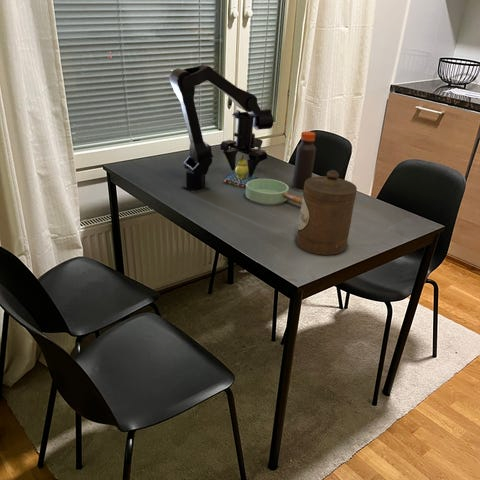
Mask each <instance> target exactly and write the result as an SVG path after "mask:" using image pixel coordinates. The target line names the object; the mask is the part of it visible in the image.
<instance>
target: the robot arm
mask: <svg viewBox="0 0 480 480" xmlns="http://www.w3.org/2000/svg"><path fill="white" fill-rule="evenodd" d="M205 81H206V82H208V83H209V84H210V85H212V86H214V87H215V88H216V89H218V90H219V91H221V92H222V93H223V94H225V95H226V96H227V97H229V99H230V100H231V101H232V103H234V105H235V106H236V107H237V108H239V109H241V110H243V111H240V110H239V109H236V110H235V111H234V112H233V113H231V117H232V118H234V119H236V132H233V136H234V137H235V140H233V139H228V140H223V141H221V142H220V144H219V150H221V151H222V153H223V154H224V156H225V159H226V160H227V162H228V165H229V167H230V169H231V171H232V172H233V171H234V172H235V169H236V159H237V154H238V152H239V153H242V154H245V155H248V159H247V166H248V171H249V172H248V175H249V177H252V176H254V173H255V171H256V168H257V166H258V165H259V163H260V162H263V161H265V160H267V159H268V152H267V151H266V150H264V149H262V145H263V142H264V140H262V139H260V138H256V134H255V133H254V132H253V130H256V131H260V130H270V129H272V128H273V126H274V124H275V123H274V122H275V121H274V117H273V114H272V109H271V108H261V107H260V106H259V104H258V97H257V96H256V95H255V94H253V93H251V92H248V91H247V90H244V89H242V88H240V87H238V86H237V85H235V84H233V83H232V82H231V81H229V80H228V79H226V78H225V77H224V76H222V74H220V73H218V72H217V71H216V70H215V69H213V67H211V66H210V65H207V64H200V65H197V66H193V67H186V68H179V67H178V68H175V69H173V70H172V71H171V72H170V75H169V82H170V86H171V87H172V89H173V92H174V94H175V95H176V97H177V99H178V101H179V103H180V108H181V111H182V115H183V119H184V122H185V126H186V130H187V131H186V132H187V135H188V139H189V149H188V151H189V152H188V153H189V156H188V157H187V158H186V160H184V162H183V166H184V168H185V170H187V171H186V172H185V176H186V177H185V185H183V189H186V190H188V191H190V192H192V191H193V192H198V191H202V190H204V189H208V186H206V175H207V173H208V171H209V168H210V166H211V165H212V164H213V158H214V155H213V154H212V145H210V144H208V143H207V142H205V141H204V137H203V133H202V130H201V125H200V121H199V117H198V112H197V108H196V103H195V92H196V87H197V86H199V85H201V84H203V83H204V82H205ZM253 128H254V129H253ZM256 148H257V149H256Z"/></svg>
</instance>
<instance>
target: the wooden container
mask: <svg viewBox="0 0 480 480" xmlns="http://www.w3.org/2000/svg"><path fill="white" fill-rule="evenodd" d="M357 189H358V188H357V185H356V184H354V183H353V182H351V181H349V180H347V179H343V178H340V174H339V172H337V170H335V169H331V170H329V171H327V172H326V176H323V175H321V176H320V175H319V176H312V178H309V179H307V180H306V181H305V184H304V190H302V191H303V192H302V193H303V194H302V205H301V204H300V206H301V207H300V212H299V218H298V226H297V234H296V244H297V245H298V247H300V248H301V249H302V250H304V251H306V252H308V253H312V254H316V255H320V256H321V255H322V256H330V255H337V254H340V253H343V252H344V251H345V250H346V248H347V244H348V239H349V234H350V230H351V224H352V218H353V211H354V205H355V202H356V201H355V200H356V196H357Z"/></svg>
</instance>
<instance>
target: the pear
mask: <svg viewBox="0 0 480 480" xmlns="http://www.w3.org/2000/svg"><path fill="white" fill-rule="evenodd" d="M234 172H236V174H237V178H240V179H245V178H246V175H249V171H248V160H247V159H246V158H245V157H244V155H242V156H241V158H240V159H238V160H237V165H235V170H234Z"/></svg>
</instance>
